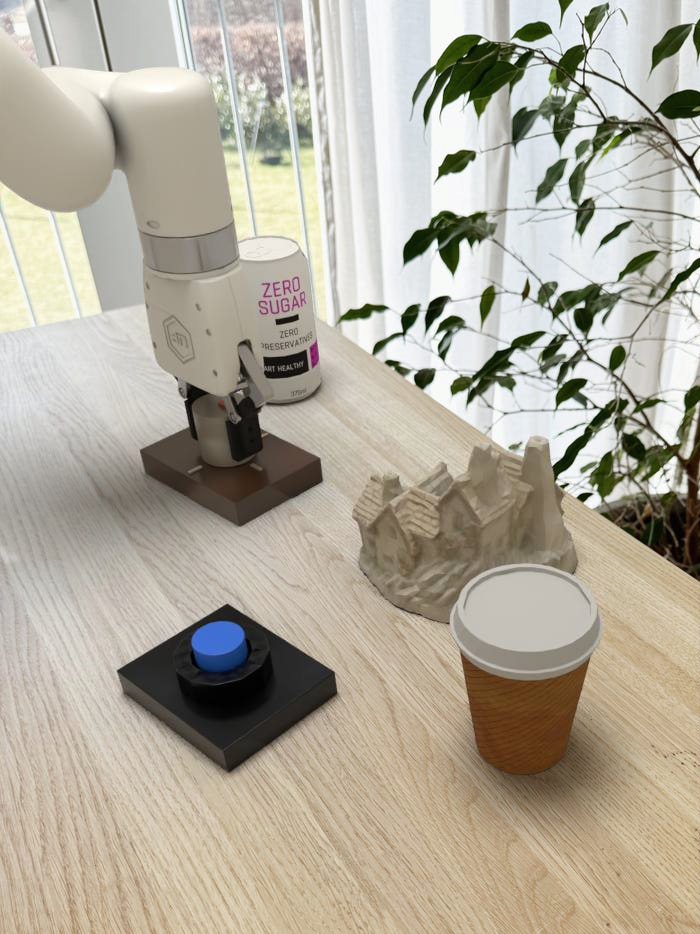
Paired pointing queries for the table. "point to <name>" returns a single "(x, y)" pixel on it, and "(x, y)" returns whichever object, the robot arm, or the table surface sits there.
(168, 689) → the switch block
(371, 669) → the table surface
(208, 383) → the robot arm
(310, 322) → the white soda can
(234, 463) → the dimmer knob
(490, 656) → the disposable coffee cup
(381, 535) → the ceramic cottage
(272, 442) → the panel
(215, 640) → the light button
